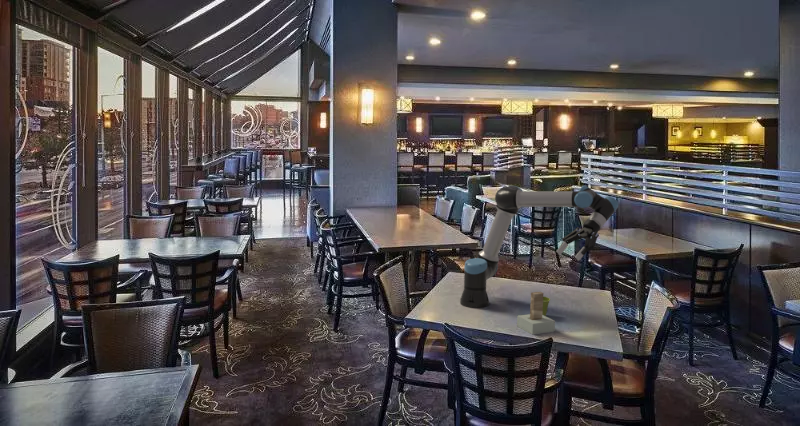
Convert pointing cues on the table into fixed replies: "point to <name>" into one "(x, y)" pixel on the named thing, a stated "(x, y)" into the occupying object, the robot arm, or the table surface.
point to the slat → (536, 306)
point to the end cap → (536, 324)
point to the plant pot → (545, 305)
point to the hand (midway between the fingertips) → (567, 256)
